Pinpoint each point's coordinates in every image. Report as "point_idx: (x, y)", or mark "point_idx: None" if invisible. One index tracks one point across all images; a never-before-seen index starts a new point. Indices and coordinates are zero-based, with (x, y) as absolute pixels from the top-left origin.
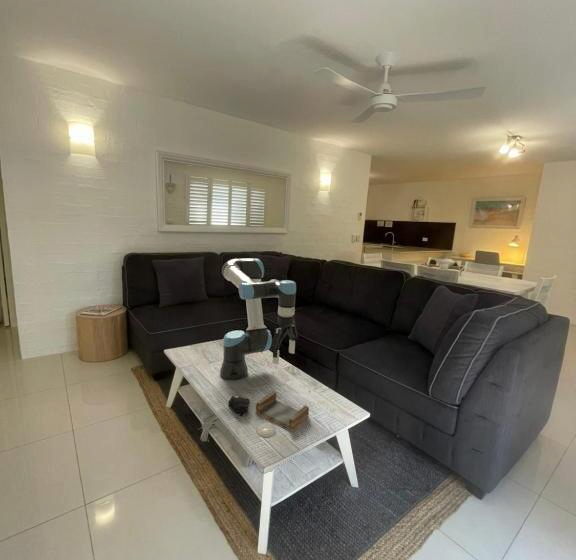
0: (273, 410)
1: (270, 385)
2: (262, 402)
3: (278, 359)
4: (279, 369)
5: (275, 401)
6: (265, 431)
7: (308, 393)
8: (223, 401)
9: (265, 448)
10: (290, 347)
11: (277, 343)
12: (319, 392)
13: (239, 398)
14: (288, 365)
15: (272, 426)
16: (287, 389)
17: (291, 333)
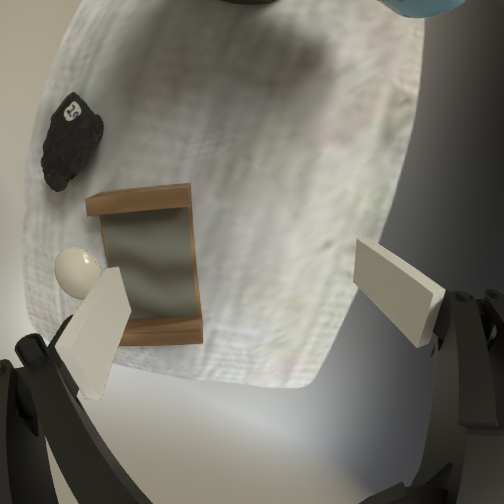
0: (135, 239)
1: (270, 107)
2: (102, 214)
3: (117, 335)
4: (379, 77)
5: (178, 208)
6: (70, 277)
7: (314, 249)
8: (79, 70)
9: (49, 309)
10: (382, 272)
11: (45, 471)
12: (338, 271)
13: (66, 131)
14: (415, 94)
15: (94, 278)
16: (290, 176)
17: (427, 460)
